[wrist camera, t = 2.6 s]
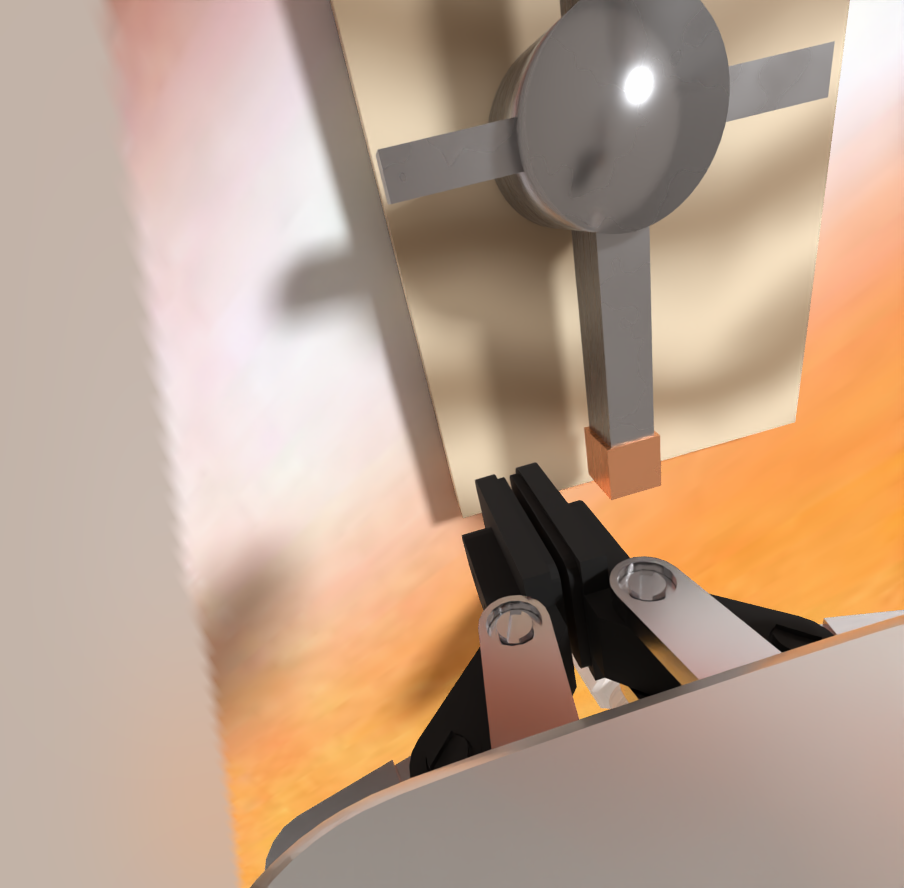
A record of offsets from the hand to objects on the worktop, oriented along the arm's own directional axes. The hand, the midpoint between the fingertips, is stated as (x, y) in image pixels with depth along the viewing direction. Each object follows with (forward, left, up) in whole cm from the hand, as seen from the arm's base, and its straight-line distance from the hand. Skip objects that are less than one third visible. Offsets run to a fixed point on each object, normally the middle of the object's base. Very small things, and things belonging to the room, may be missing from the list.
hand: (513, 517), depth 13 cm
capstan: (-5, +6, -9) cm, 12 cm away
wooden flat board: (-5, +8, -11) cm, 15 cm away
